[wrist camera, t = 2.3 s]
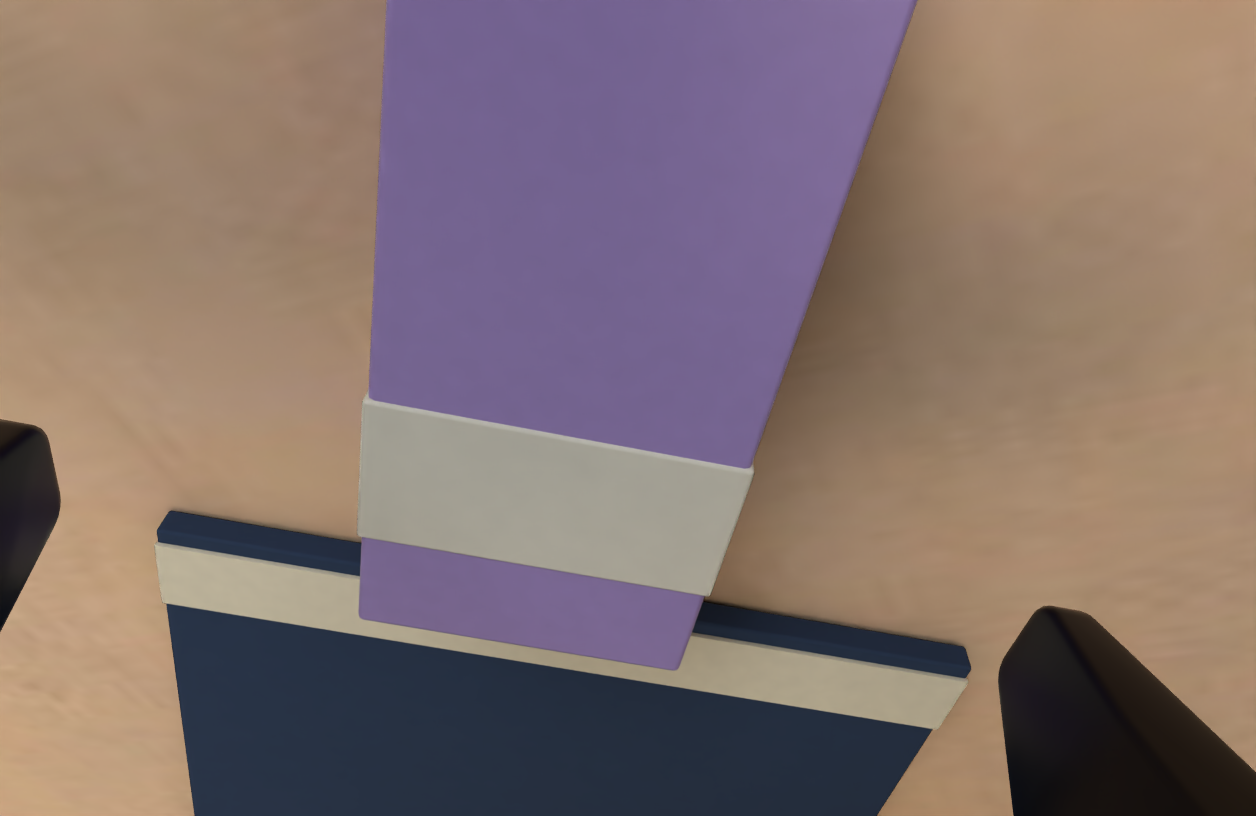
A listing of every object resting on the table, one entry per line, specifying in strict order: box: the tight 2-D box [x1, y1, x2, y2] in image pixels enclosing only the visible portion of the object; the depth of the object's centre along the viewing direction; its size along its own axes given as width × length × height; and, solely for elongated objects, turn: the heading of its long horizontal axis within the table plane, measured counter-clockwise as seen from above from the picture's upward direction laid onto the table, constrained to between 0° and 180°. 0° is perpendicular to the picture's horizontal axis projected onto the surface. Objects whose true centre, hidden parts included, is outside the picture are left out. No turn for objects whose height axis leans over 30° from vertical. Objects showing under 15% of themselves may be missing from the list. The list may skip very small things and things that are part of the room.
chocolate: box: [357, 0, 918, 671], centre depth 13 cm, size 5×11×4 cm, turn 169°
